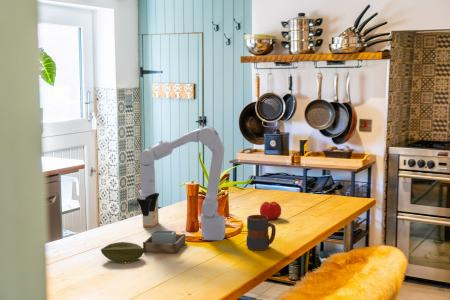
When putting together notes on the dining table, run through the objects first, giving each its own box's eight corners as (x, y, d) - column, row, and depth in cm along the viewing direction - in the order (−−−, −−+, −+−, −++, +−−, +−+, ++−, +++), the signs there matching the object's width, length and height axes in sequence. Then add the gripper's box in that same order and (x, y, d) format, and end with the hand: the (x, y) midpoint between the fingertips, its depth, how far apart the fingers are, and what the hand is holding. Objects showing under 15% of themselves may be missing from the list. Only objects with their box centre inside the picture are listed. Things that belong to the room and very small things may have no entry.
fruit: (124, 268, 201) (123, 249, 200) (99, 261, 208) (98, 243, 207) (147, 259, 210) (146, 241, 209) (123, 253, 217) (122, 235, 216)
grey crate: (176, 244, 225) (175, 230, 224) (172, 248, 220) (172, 234, 219) (155, 243, 226) (155, 229, 225) (151, 247, 221) (151, 233, 221)
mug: (269, 254, 214) (268, 222, 212) (241, 248, 221) (241, 217, 220) (281, 248, 221) (281, 217, 219) (254, 243, 228) (254, 213, 226)
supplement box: (153, 227, 253) (152, 197, 251) (142, 227, 254) (141, 196, 252) (159, 222, 261) (158, 193, 259) (148, 222, 262) (147, 193, 260)
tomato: (257, 220, 263) (257, 203, 262) (263, 215, 271) (263, 199, 270) (277, 222, 259) (277, 205, 258) (283, 217, 267) (283, 201, 266)
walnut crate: (185, 243, 228) (185, 233, 228) (175, 253, 215) (175, 243, 215) (154, 242, 231) (154, 232, 230) (143, 252, 218) (142, 242, 217)
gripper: (144, 176, 241) (145, 209, 243) (131, 183, 227) (132, 217, 229) (160, 176, 240) (161, 209, 242) (149, 183, 226) (150, 218, 228)
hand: (148, 213), depth 235 cm, fingers open, 7 cm apart
